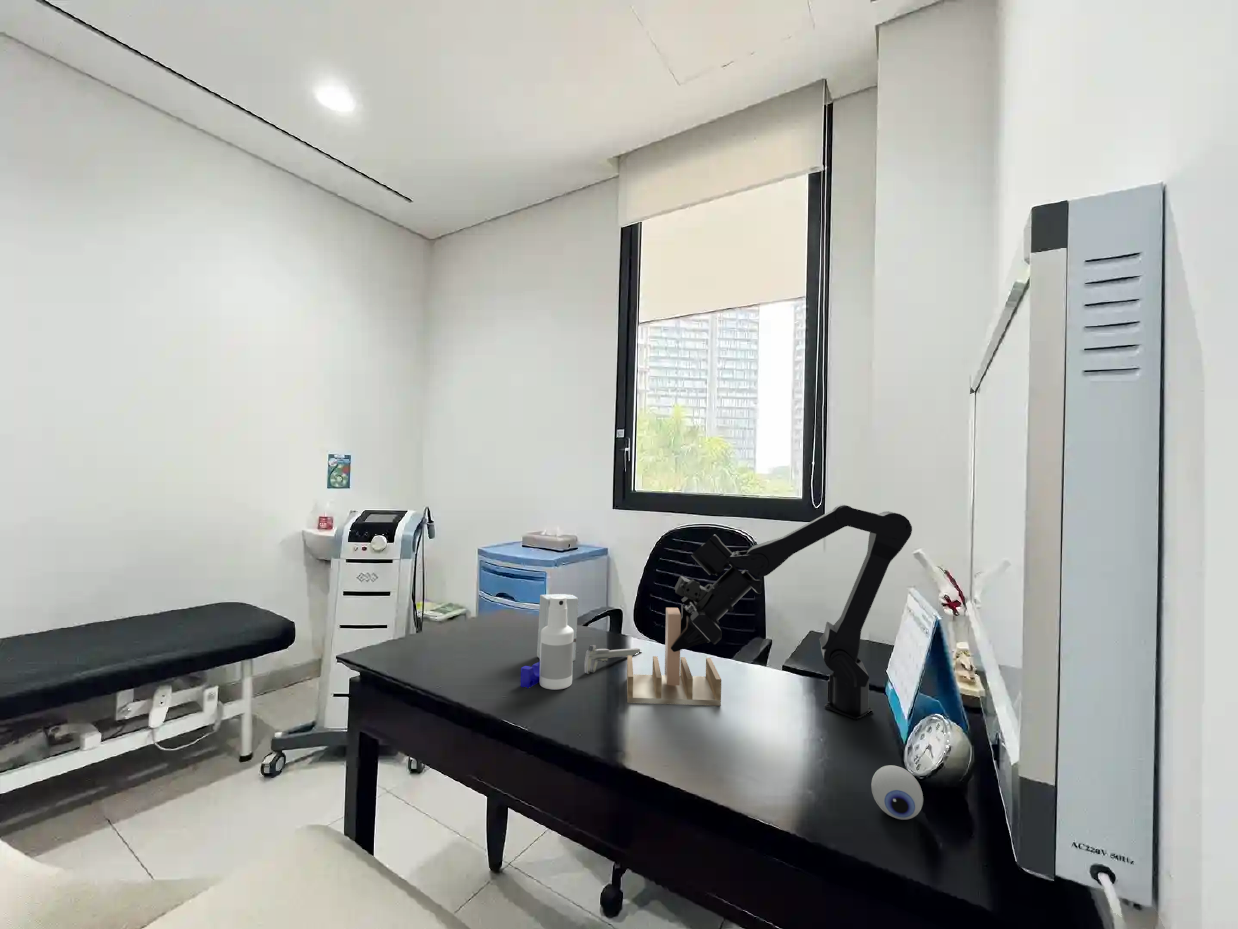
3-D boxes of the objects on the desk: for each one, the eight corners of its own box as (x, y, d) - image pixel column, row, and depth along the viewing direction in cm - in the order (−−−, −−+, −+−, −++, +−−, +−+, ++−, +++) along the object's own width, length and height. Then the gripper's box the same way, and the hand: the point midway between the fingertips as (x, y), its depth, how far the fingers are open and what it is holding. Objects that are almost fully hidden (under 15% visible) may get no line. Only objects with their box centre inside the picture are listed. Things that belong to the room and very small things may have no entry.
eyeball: (873, 822, 66) (874, 775, 66) (868, 796, 72) (869, 752, 72) (927, 835, 64) (927, 786, 64) (918, 807, 70) (918, 762, 70)
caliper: (587, 676, 113) (588, 647, 113) (584, 675, 114) (584, 646, 114) (642, 653, 129) (643, 628, 129) (639, 652, 130) (640, 627, 130)
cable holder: (537, 673, 114) (538, 655, 114) (550, 676, 112) (551, 658, 112) (514, 685, 107) (515, 666, 107) (528, 689, 105) (528, 669, 105)
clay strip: (676, 675, 108) (677, 607, 109) (679, 685, 103) (680, 614, 103) (664, 674, 108) (666, 607, 109) (666, 685, 103) (668, 614, 103)
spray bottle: (545, 692, 103) (548, 602, 104) (534, 680, 109) (537, 594, 110) (577, 687, 106) (579, 599, 107) (564, 675, 112) (567, 592, 113)
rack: (710, 681, 111) (710, 658, 111) (720, 705, 99) (721, 679, 99) (626, 678, 111) (627, 655, 112) (627, 702, 99) (628, 676, 100)
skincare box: (542, 664, 118) (544, 599, 119) (536, 656, 124) (538, 594, 125) (577, 660, 122) (579, 597, 122) (569, 652, 127) (571, 591, 128)
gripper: (692, 557, 115) (641, 605, 115) (705, 572, 97) (645, 629, 97) (726, 593, 115) (676, 642, 115) (747, 615, 96) (686, 673, 96)
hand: (670, 645), depth 106 cm, fingers closed on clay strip, 5 cm apart
